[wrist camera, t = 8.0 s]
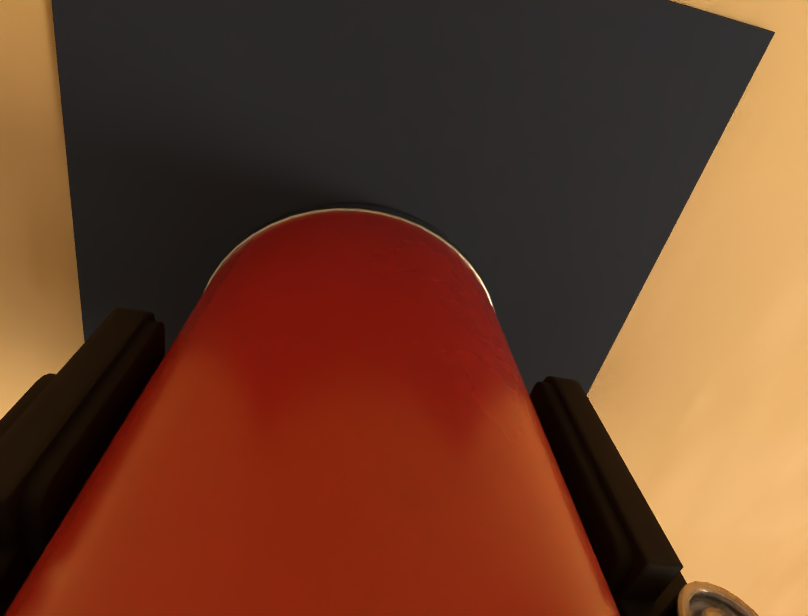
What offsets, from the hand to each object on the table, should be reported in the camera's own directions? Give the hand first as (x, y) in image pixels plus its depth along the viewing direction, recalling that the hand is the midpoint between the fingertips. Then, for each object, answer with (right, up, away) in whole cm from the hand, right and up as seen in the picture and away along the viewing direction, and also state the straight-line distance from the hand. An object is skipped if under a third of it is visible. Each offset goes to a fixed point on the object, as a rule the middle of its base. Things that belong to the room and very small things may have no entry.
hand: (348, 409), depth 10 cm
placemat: (0, +1, +2) cm, 2 cm away
